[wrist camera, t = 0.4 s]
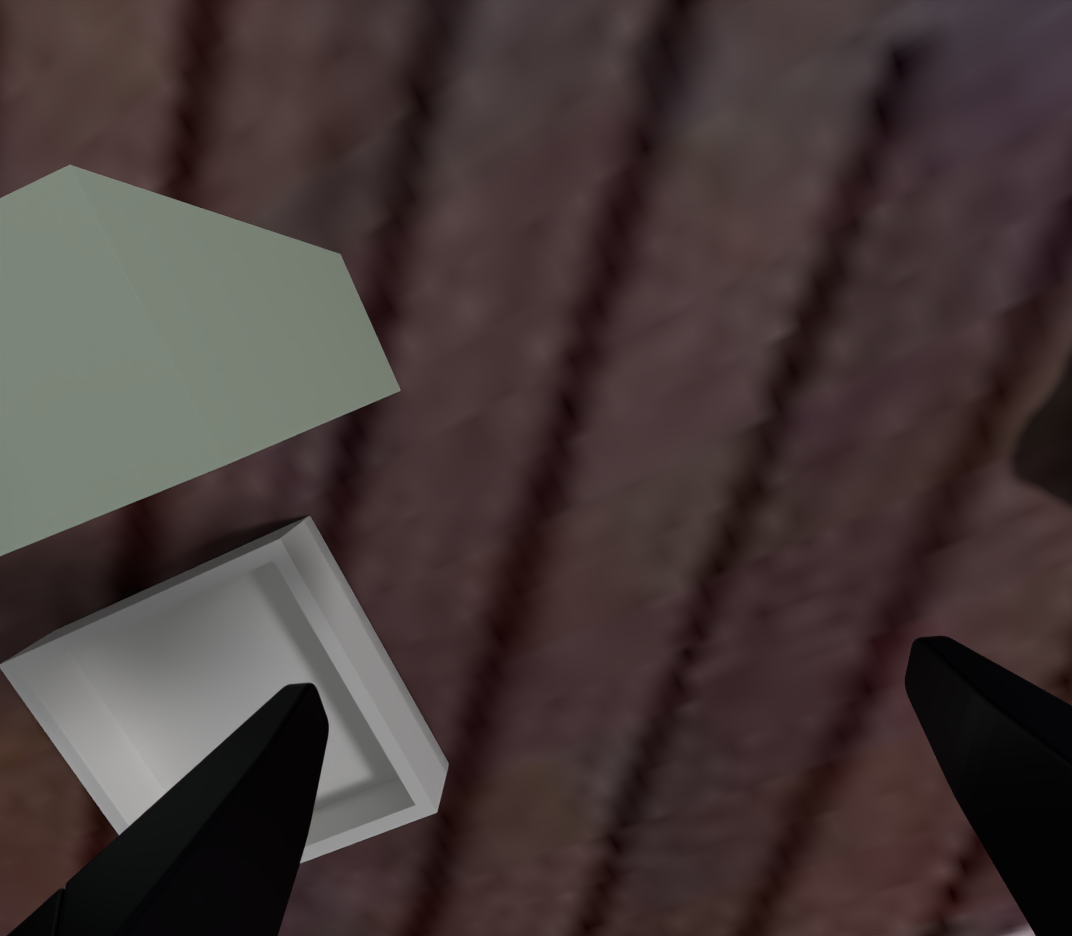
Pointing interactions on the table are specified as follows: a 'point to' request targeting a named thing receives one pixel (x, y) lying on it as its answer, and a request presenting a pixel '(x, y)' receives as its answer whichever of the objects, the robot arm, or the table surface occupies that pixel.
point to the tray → (234, 687)
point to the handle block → (158, 347)
